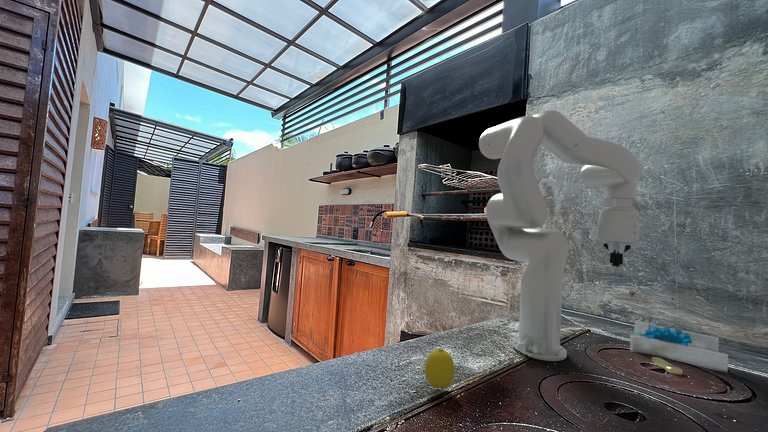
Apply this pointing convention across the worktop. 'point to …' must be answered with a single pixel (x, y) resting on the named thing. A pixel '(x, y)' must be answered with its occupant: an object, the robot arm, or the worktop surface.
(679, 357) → the channel
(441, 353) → the lemon
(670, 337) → the blue green toy animal
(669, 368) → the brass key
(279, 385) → the worktop surface
